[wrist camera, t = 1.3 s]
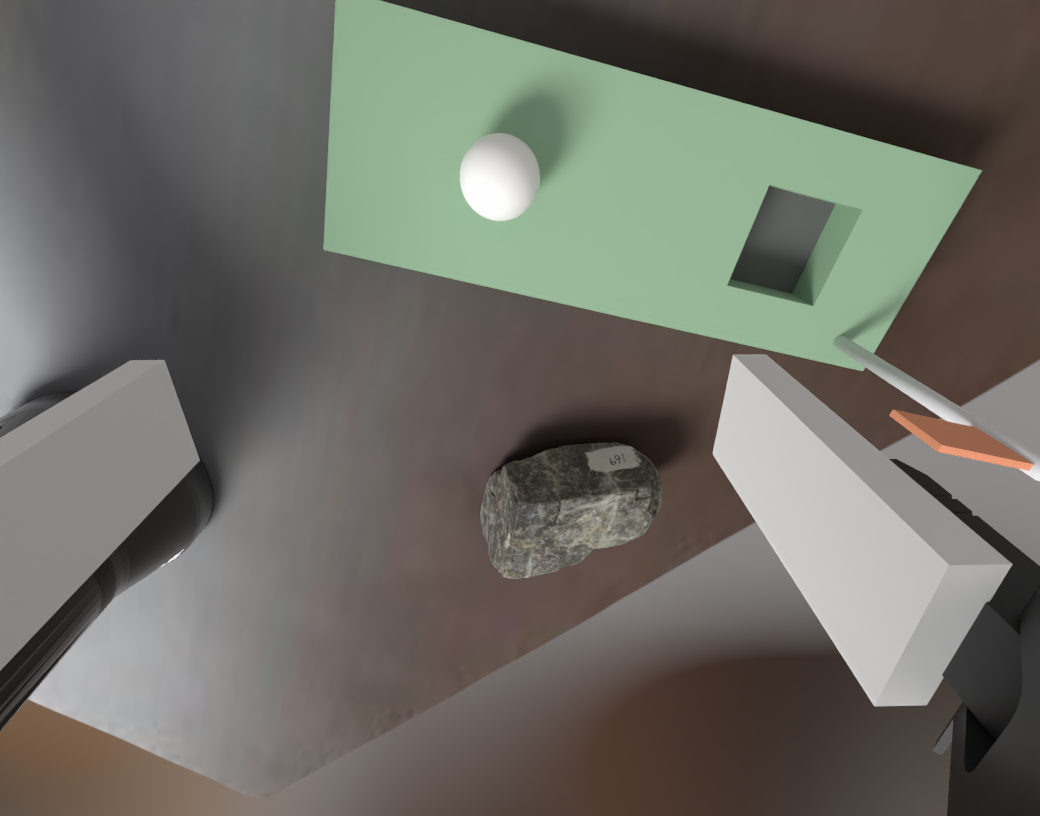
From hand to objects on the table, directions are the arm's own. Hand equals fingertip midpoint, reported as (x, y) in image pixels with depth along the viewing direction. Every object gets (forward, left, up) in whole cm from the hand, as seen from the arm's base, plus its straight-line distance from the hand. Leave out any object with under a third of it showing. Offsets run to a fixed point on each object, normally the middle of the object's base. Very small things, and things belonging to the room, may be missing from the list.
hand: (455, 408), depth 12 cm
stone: (+9, -16, -22) cm, 29 cm away
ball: (0, +4, -17) cm, 17 cm away
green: (+8, +4, -22) cm, 24 cm away
